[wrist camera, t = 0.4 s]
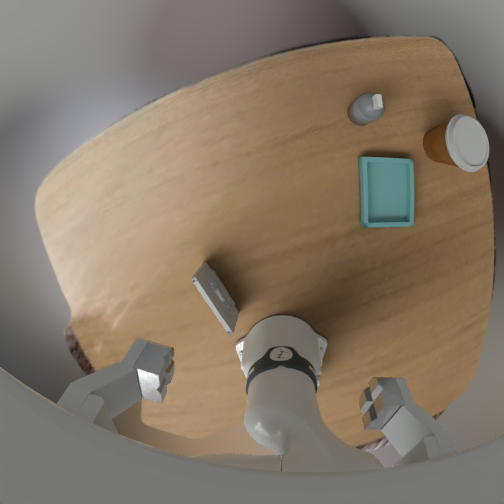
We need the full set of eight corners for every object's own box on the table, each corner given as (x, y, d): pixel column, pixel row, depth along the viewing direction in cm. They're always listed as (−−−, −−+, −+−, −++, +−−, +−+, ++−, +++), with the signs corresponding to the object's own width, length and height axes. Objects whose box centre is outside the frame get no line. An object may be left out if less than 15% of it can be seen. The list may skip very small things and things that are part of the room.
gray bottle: (372, 126, 42) (395, 116, 32) (348, 125, 42) (367, 113, 32) (369, 103, 40) (391, 88, 31) (346, 101, 41) (363, 85, 31)
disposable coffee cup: (410, 156, 42) (445, 154, 31) (422, 113, 39) (456, 102, 28) (447, 178, 42) (484, 182, 31) (457, 136, 40) (494, 132, 28)
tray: (407, 223, 46) (413, 226, 43) (359, 225, 47) (363, 227, 44) (407, 159, 42) (413, 159, 40) (358, 157, 43) (362, 156, 41)
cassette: (241, 311, 53) (236, 332, 46) (233, 315, 54) (227, 336, 47) (208, 260, 51) (197, 274, 44) (200, 264, 51) (188, 279, 44)
